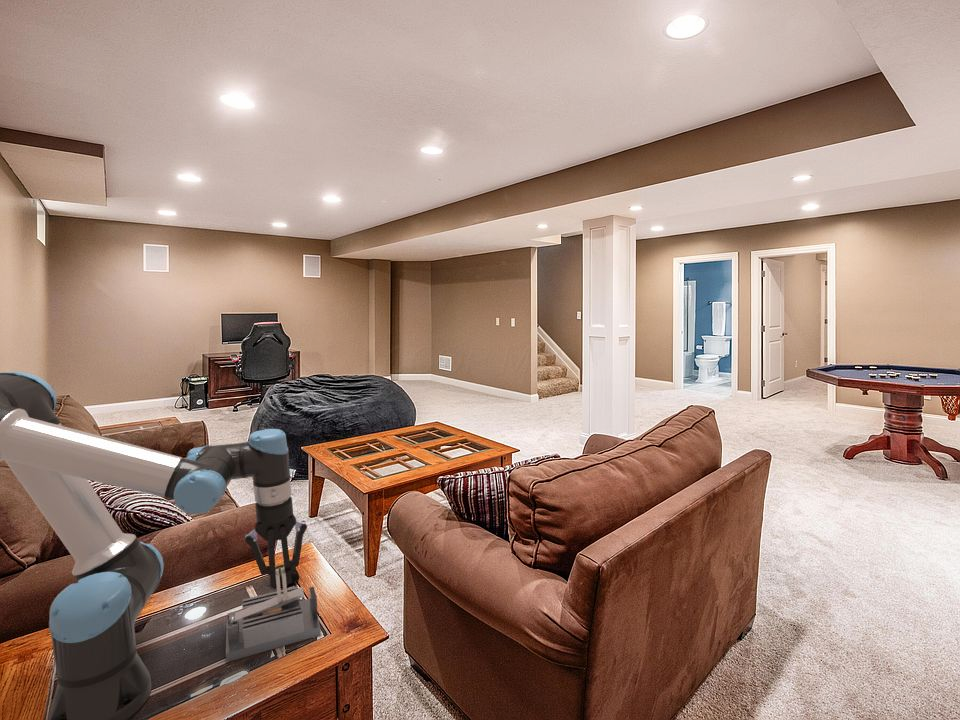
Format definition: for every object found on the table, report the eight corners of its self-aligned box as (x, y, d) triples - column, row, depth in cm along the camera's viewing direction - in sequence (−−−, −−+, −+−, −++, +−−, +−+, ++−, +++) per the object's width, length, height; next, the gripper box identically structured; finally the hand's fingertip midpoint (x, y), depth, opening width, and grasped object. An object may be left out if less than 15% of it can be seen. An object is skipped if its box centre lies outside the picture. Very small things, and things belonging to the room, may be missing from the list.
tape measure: (300, 585, 131) (299, 571, 131) (272, 592, 128) (271, 578, 127) (296, 572, 137) (295, 559, 137) (269, 578, 134) (268, 566, 133)
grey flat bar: (229, 627, 107) (228, 622, 107) (230, 619, 110) (228, 614, 110) (304, 597, 114) (303, 592, 113) (303, 590, 116) (301, 585, 116)
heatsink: (226, 662, 103) (223, 631, 102) (227, 627, 114) (225, 599, 113) (320, 635, 112) (319, 606, 111) (313, 605, 122) (312, 578, 121)
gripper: (239, 513, 103) (250, 616, 107) (308, 499, 109) (316, 598, 112) (239, 499, 110) (249, 597, 113) (304, 487, 116) (311, 580, 119)
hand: (282, 597), depth 113 cm, fingers closed, pressing on grey flat bar
